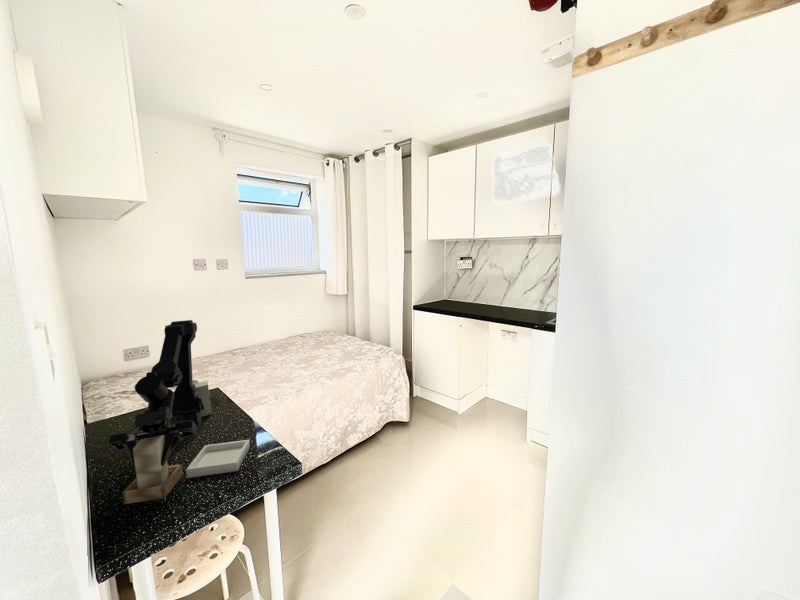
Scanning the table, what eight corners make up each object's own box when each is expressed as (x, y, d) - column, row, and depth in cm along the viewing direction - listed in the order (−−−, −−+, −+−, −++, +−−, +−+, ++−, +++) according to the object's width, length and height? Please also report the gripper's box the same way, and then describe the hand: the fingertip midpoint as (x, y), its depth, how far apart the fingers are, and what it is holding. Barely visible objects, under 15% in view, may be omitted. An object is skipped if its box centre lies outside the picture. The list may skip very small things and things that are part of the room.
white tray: (250, 446, 101) (249, 439, 100) (237, 470, 89) (236, 462, 89) (205, 452, 98) (204, 445, 98) (187, 478, 87) (186, 469, 86)
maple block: (169, 479, 86) (163, 434, 85) (162, 492, 82) (156, 444, 80) (147, 484, 85) (141, 439, 83) (139, 497, 80) (132, 449, 78)
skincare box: (212, 414, 125) (208, 384, 124) (198, 417, 123) (195, 387, 121) (211, 408, 130) (207, 380, 129) (198, 411, 128) (194, 383, 127)
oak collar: (183, 474, 88) (181, 464, 88) (164, 497, 79) (163, 486, 79) (146, 479, 87) (144, 469, 86) (123, 504, 78) (121, 493, 77)
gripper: (105, 404, 81) (86, 470, 72) (189, 391, 87) (182, 450, 78) (124, 420, 89) (109, 480, 80) (200, 407, 95) (194, 462, 86)
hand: (149, 468), depth 81 cm, fingers closed on maple block, 5 cm apart
